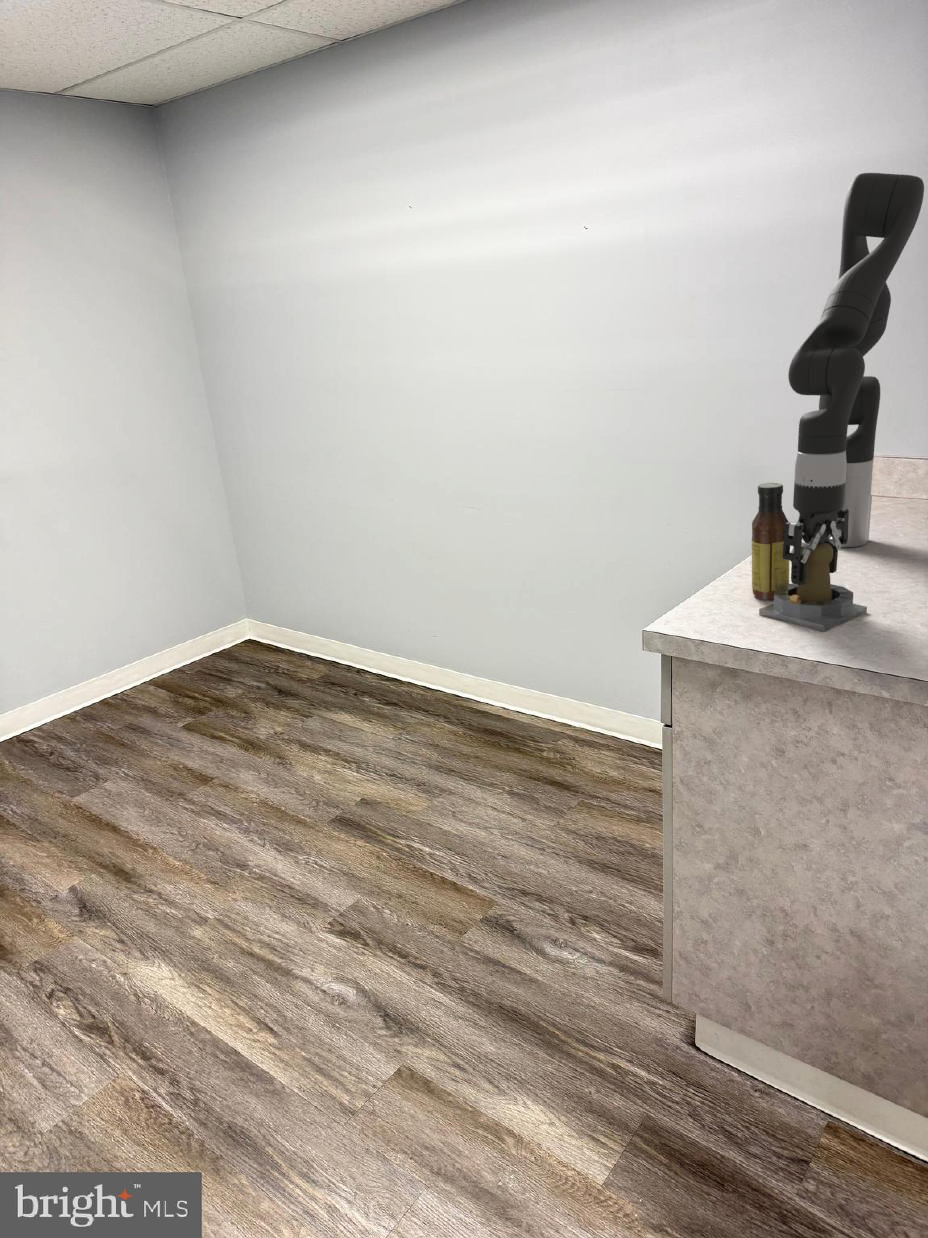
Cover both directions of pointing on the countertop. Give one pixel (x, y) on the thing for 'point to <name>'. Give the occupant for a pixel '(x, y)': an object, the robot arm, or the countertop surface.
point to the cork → (817, 575)
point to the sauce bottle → (769, 543)
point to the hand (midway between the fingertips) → (813, 577)
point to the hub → (813, 608)
